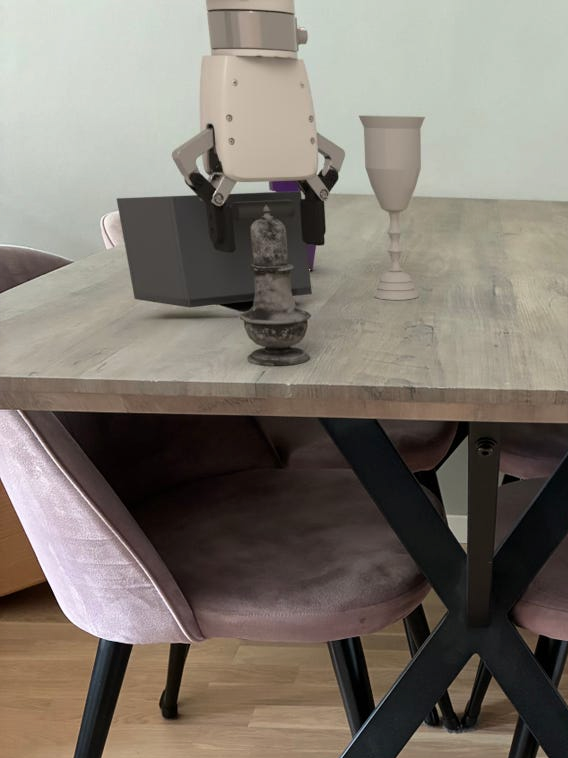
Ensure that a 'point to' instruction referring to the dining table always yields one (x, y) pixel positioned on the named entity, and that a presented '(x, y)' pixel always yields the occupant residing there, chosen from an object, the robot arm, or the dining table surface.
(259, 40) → the robot arm
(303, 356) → the salt shaker
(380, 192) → the chalice
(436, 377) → the dining table surface
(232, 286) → the dark grey rectangular box
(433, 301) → the dining table surface
